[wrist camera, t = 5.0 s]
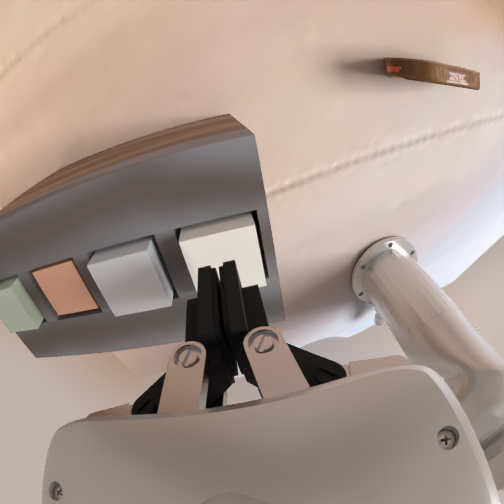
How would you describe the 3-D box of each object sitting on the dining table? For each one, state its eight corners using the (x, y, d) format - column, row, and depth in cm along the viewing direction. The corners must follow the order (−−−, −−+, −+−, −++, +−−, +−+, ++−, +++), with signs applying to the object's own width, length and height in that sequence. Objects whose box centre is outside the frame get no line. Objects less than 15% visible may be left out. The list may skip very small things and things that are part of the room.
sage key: (49, 307, 17) (38, 328, 15) (21, 312, 17) (10, 332, 15) (25, 267, 15) (10, 287, 13) (-2, 276, 15) (-16, 295, 13)
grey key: (174, 281, 18) (171, 305, 16) (123, 292, 17) (115, 316, 15) (154, 228, 16) (147, 250, 13) (99, 244, 15) (86, 265, 13)
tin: (449, 67, 26) (490, 71, 19) (452, 86, 28) (492, 93, 21) (370, 57, 26) (411, 52, 19) (374, 80, 28) (415, 81, 21)
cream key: (259, 262, 18) (266, 285, 16) (200, 275, 18) (200, 300, 16) (248, 206, 16) (254, 224, 14) (182, 221, 16) (178, 242, 14)
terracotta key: (107, 286, 18) (98, 308, 16) (69, 294, 18) (58, 315, 16) (84, 241, 16) (71, 260, 14) (46, 253, 16) (32, 272, 14)
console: (248, 209, 35) (285, 319, 19) (92, 249, 34) (36, 357, 18) (229, 114, 28) (254, 134, 12) (59, 169, 28) (-39, 244, 12)
